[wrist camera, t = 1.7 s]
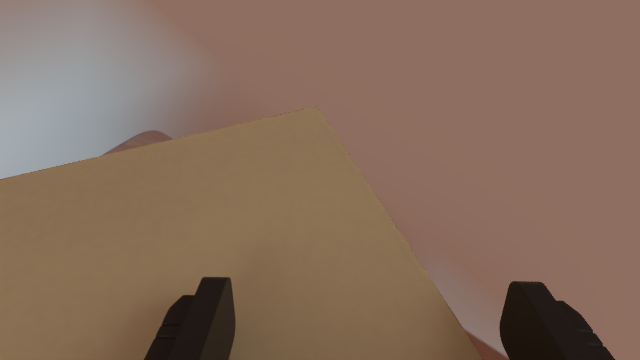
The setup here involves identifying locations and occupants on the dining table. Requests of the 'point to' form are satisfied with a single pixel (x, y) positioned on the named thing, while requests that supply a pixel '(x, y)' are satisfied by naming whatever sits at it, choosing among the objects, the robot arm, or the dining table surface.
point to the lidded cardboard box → (216, 251)
